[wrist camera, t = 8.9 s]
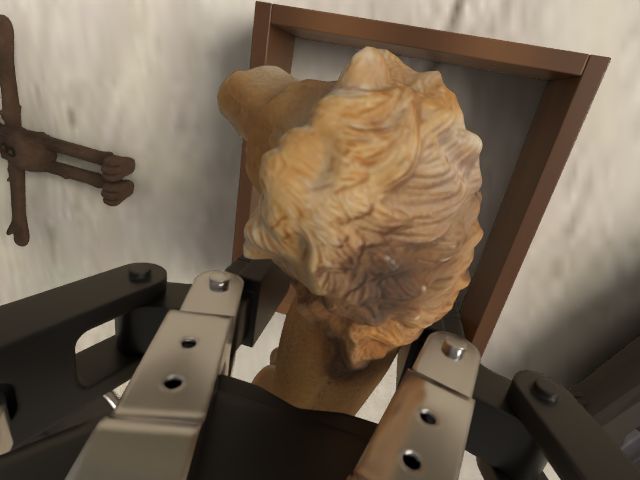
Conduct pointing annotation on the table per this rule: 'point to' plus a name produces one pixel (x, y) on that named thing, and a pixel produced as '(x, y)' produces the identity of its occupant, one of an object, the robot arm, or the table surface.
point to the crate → (470, 51)
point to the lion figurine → (355, 216)
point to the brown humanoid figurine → (46, 150)
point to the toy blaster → (616, 398)
